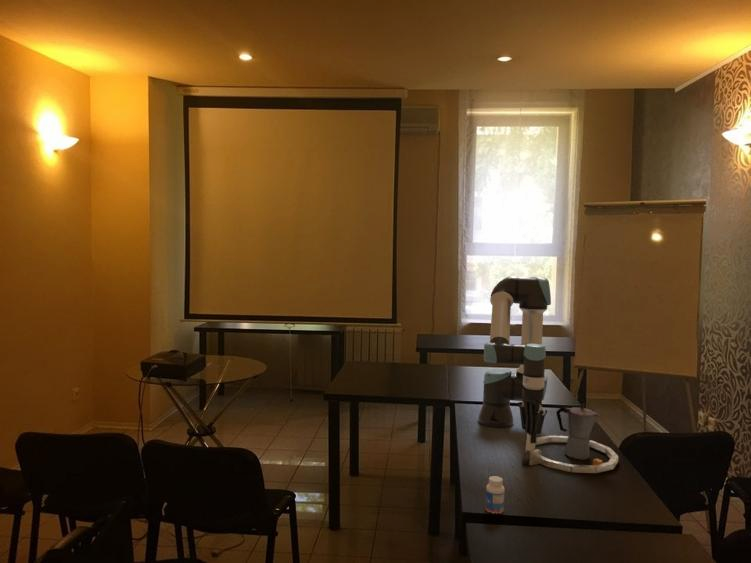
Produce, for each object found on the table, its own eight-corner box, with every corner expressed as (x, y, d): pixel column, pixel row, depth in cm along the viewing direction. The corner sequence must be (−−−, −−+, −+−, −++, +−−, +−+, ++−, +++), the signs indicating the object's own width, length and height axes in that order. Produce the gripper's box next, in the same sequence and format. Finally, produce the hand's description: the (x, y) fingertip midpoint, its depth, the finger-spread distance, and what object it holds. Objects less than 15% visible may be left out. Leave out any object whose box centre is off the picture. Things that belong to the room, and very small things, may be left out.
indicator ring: (493, 450, 225) (494, 437, 225) (570, 436, 243) (570, 424, 243) (555, 482, 197) (555, 468, 196) (636, 463, 215) (636, 450, 214)
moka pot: (599, 462, 216) (602, 409, 215) (555, 458, 220) (557, 405, 218) (596, 453, 225) (598, 402, 224) (553, 449, 229) (556, 398, 228)
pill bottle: (483, 505, 180) (484, 474, 179) (500, 505, 180) (501, 474, 179) (488, 514, 174) (489, 482, 174) (506, 514, 175) (507, 482, 174)
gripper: (513, 383, 218) (510, 446, 219) (537, 392, 206) (534, 458, 208) (528, 382, 221) (526, 443, 223) (554, 390, 209) (551, 455, 211)
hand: (530, 450), depth 215 cm, fingers closed
